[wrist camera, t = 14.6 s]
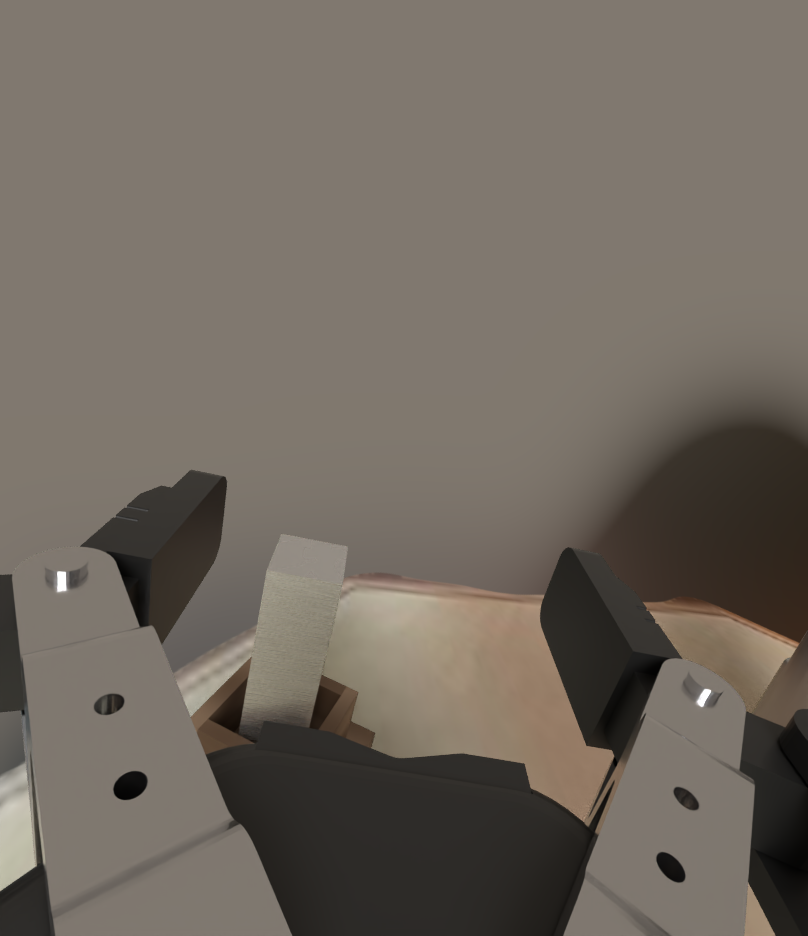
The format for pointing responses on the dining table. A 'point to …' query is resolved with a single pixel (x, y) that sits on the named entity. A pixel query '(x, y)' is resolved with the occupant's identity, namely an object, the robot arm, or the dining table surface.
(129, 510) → the robot arm
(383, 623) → the dining table surface
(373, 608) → the dining table surface
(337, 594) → the grey rectangular block
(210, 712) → the wooden socket base
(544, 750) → the dining table surface
